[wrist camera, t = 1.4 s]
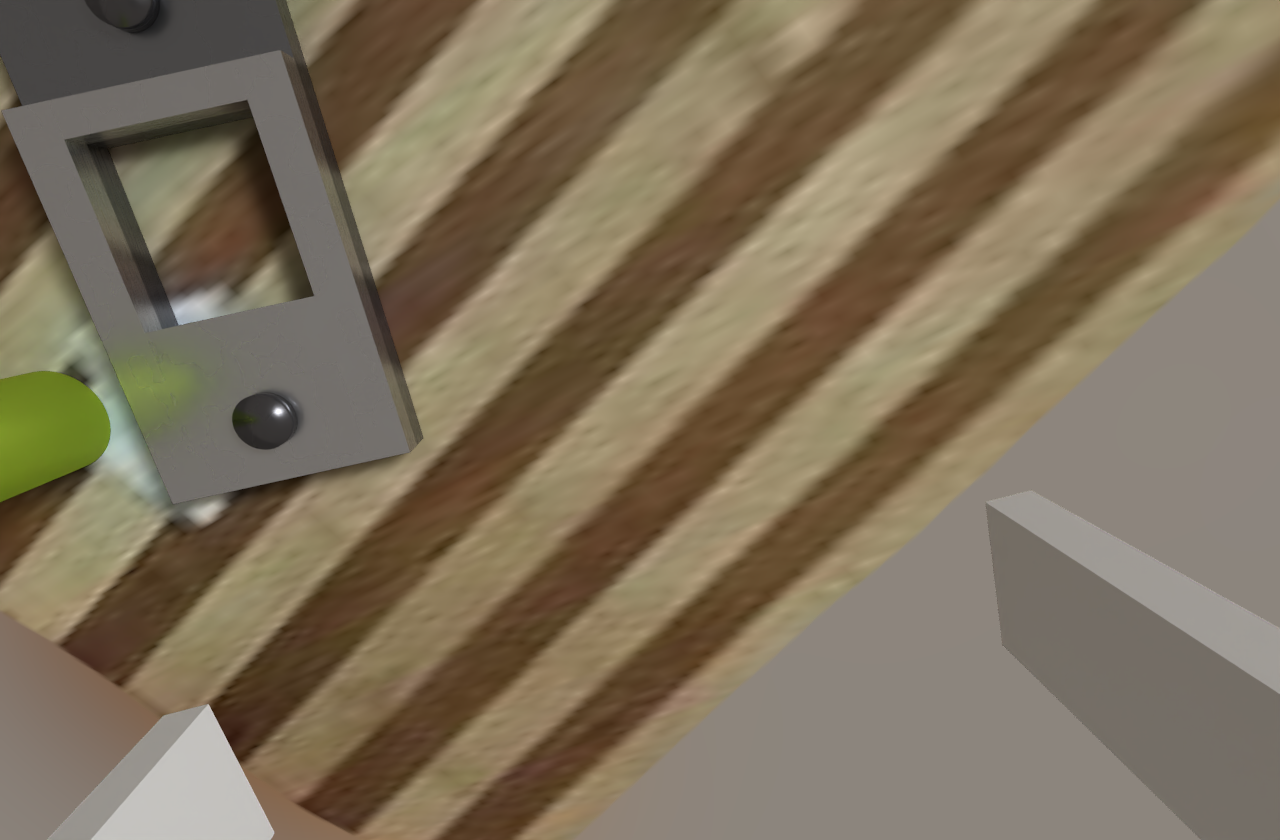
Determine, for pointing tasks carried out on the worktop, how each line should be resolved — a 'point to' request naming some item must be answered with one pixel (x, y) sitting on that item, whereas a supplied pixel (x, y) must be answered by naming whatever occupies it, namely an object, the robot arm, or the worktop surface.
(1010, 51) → the worktop surface
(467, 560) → the worktop surface
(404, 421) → the upper link
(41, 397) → the soap dispenser
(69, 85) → the lower link
